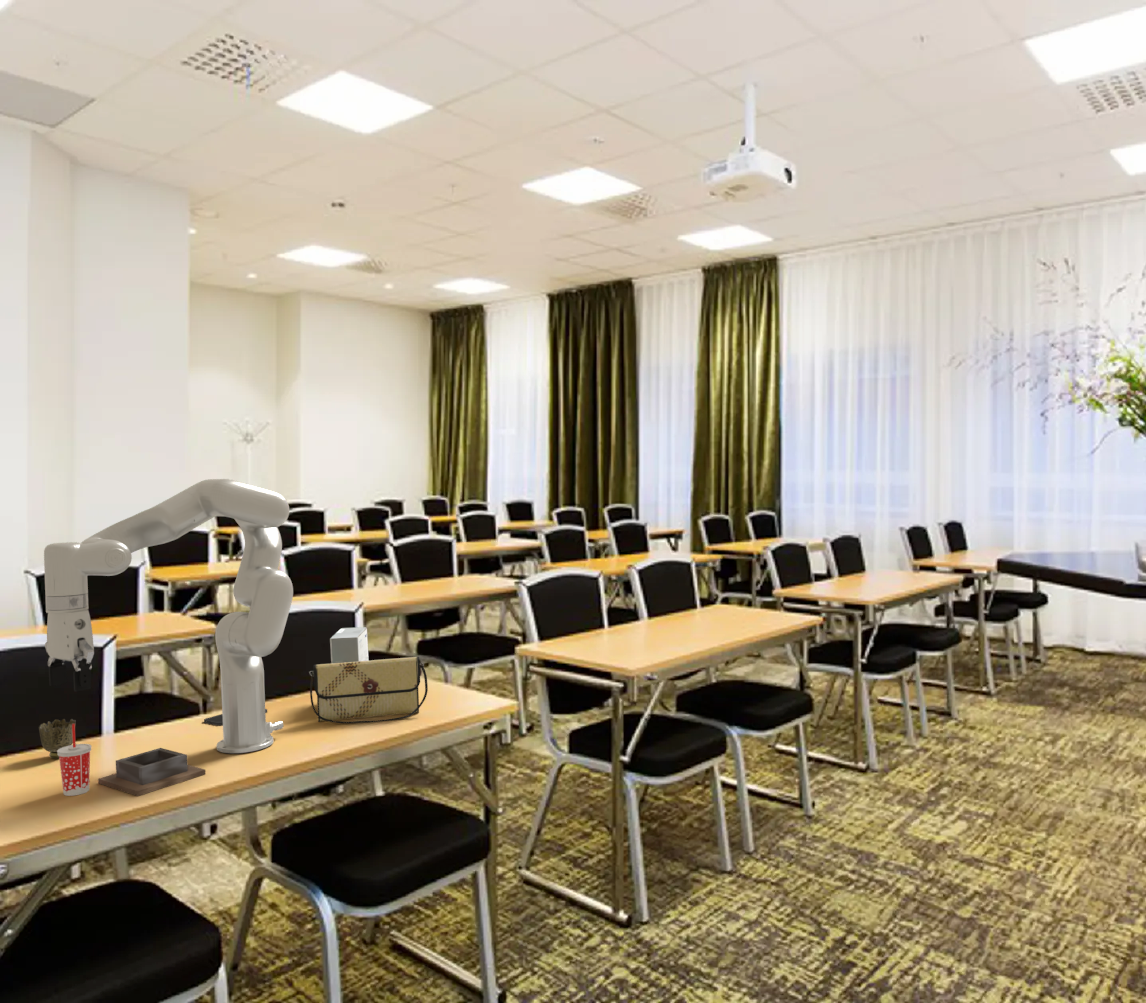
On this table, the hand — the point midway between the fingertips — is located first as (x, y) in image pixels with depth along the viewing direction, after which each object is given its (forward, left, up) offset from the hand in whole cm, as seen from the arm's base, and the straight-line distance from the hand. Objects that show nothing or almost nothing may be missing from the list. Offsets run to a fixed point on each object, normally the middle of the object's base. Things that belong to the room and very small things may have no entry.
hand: (70, 687), depth 182 cm
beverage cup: (0, 0, -22) cm, 22 cm away
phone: (-52, -21, -22) cm, 61 cm away
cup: (-10, -28, -22) cm, 37 cm away
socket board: (-13, +7, -22) cm, 26 cm away
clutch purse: (-68, +13, -22) cm, 73 cm away
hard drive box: (-77, -4, -22) cm, 80 cm away
